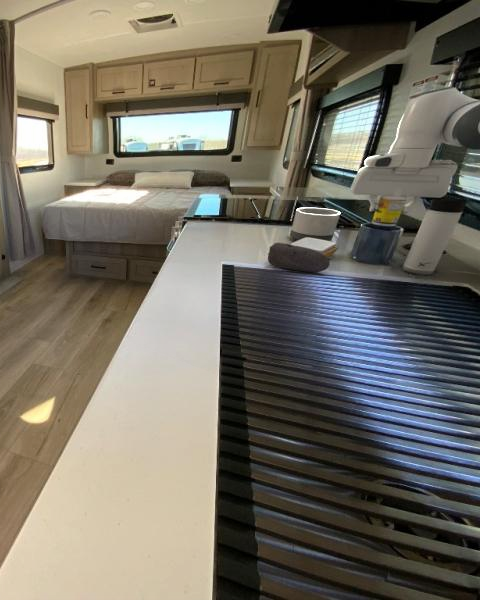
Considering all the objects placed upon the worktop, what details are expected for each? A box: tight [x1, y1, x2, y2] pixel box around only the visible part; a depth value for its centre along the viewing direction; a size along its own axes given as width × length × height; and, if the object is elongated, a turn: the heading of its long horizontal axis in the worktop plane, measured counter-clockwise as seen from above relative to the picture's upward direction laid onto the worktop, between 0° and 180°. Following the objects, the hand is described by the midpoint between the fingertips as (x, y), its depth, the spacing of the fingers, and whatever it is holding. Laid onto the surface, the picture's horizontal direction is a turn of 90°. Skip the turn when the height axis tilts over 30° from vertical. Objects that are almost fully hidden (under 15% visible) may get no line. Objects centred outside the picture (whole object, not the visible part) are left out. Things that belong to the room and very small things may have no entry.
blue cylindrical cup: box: [349, 222, 405, 266], centre depth 99 cm, size 10×10×10 cm
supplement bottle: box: [371, 189, 408, 226], centre depth 94 cm, size 6×6×10 cm
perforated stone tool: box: [267, 242, 331, 273], centre depth 93 cm, size 15×5×7 cm, turn 52°
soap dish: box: [290, 237, 339, 259], centre depth 102 cm, size 12×10×5 cm
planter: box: [289, 207, 342, 242], centre depth 117 cm, size 13×13×10 cm
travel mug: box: [401, 198, 471, 276], centre depth 87 cm, size 6×7×20 cm
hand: (387, 211), depth 95 cm, fingers closed on supplement bottle, 5 cm apart
